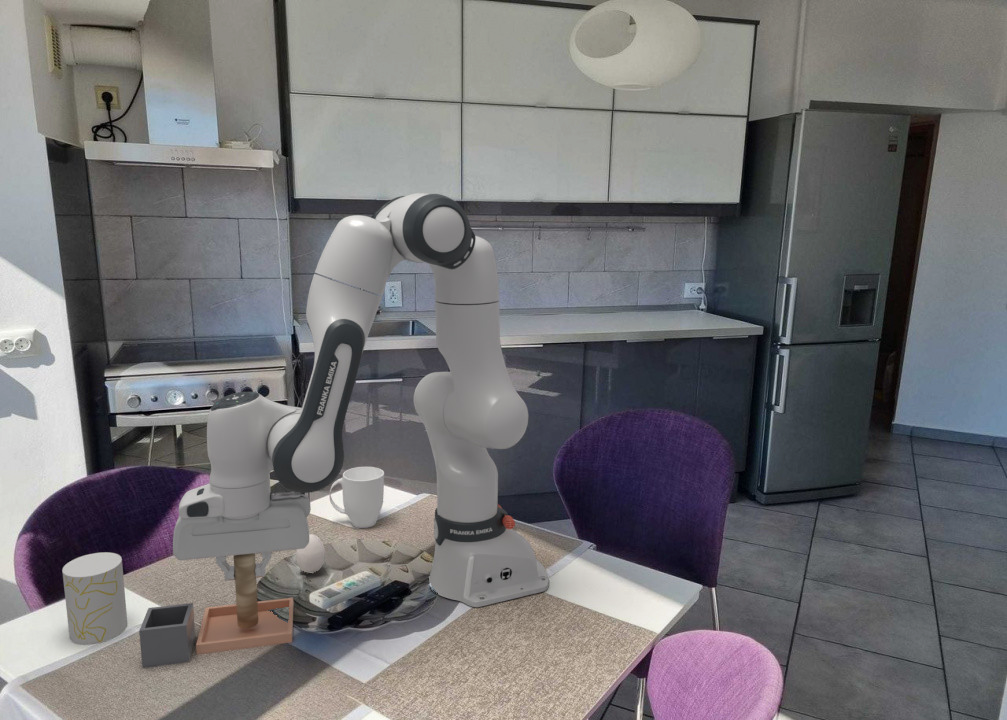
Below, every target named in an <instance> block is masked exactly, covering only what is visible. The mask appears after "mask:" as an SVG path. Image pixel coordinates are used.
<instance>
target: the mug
mask: <svg viewBox="0 0 1007 720" xmlns="http://www.w3.org/2000/svg"><path fill="white" fill-rule="evenodd" d="M338 484H339V485H340V486H341V489H342V504H343V508H342V507H340V506H338V505H337V504H336V503H335V502H334V500H333V499H332V498H333V497H332V495H331V492H332V489H333V488H334V487H335V486H337V485H338ZM384 490H385V471H384V470H383V469H381V468H379V467H376V466H356V467H352V468H349V469H347V470H345V471H344V472H343V474H342V477H340V478H338V479H337V480H334V481H333V482H332V483H331V486H330V490H329V502H330V504H331V506H332V507H333V508H334V509H335V510H336V511H337V512H339V513H340V514H343V515H346V516H347V517H348V519H349V520H350V522H351V525H352V526H354V527H355V528H358V529H367V528H368V529H369V528H371V527H374V526H375V525H376V523H377V521H378V519H379V517H380V514H381V511H382V508H383V504H384V496H385V495H384V494H385V492H384Z"/></svg>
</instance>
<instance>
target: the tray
mask: <svg viewBox="0 0 1007 720" xmlns="http://www.w3.org/2000/svg"><path fill="white" fill-rule="evenodd" d="M257 602H258V623H257V624H256V625H255V626H253V627H250V628H240V627H239V626H238V623H237V606H236V603H234V604H233V603H232V604H224V605H218V606H217V605H215V606H207V607H205V609H204V612H203V617H202V620H201V625H200V629H199V632H198V636H197V641H196V645H195V651H196V655H205V654H212V653H217V652H226V651H234V650H243V649H249V648H250V649H252V648H257V647H259V648H260V647H267V646H273V645H282V644H287V643H288V644H289V643H293V634H294V633H293V631H294V627H293V626H294V597H288V598H279V599H269V600H261V601H257ZM284 607H289V620H288V623H287V622H285V621H283V620H281V619H279V618H278V617H277V615H274V614H273V612H272V611H271V612H270V611H268V610H271V609H276V608H284Z"/></svg>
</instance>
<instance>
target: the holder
mask: <svg viewBox="0 0 1007 720" xmlns="http://www.w3.org/2000/svg"><path fill="white" fill-rule="evenodd" d="M195 627H196V626H195V611H194V602H189V603H181V604H172V605H162V606H154V607H148V609H146V613H145V616H144V618H143V621H142V623H141V625H140V628H139V630H138V631H139V633H138V634H139V643H140V656H141V657H140V658H141V666H142V669H147V668H151V667H152V668H153V667H154V668H155V667H159V666H160V667H161V666H167V665H175V664H176V665H177V664H182V663H190V660H191V656H192V653H193V650H194V646H195V645H194V644H195V641H196V638H197V637H196V628H195Z"/></svg>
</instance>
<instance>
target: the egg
mask: <svg viewBox="0 0 1007 720" xmlns="http://www.w3.org/2000/svg"><path fill="white" fill-rule="evenodd" d="M295 560H296V564H297V566H298V568H299V570H301V571H302V572H303V571H304V572H303V573H305V572H315V573H317V572H318V571H319V570H320V569H321V568H322V567H323V565H324V563H325V560H326V550H325V546H324V544H323V542H322V540H321V539H320V537H318V536H317V535H315V534H312V533H309V543H308V545H307V546H306V547H305V548H303V549H295ZM316 571H317V572H316Z"/></svg>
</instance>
